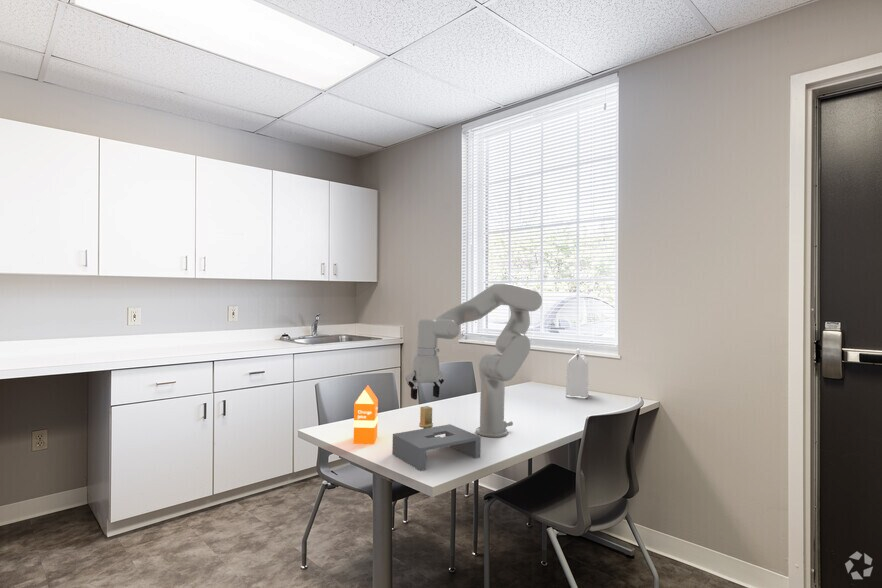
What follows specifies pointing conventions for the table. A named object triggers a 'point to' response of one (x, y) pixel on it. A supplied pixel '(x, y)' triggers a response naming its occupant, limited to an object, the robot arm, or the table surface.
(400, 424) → the table surface
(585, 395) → the milk
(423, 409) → the brass peg
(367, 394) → the orange juice
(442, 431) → the keyhole board
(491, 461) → the table surface
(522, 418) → the table surface
